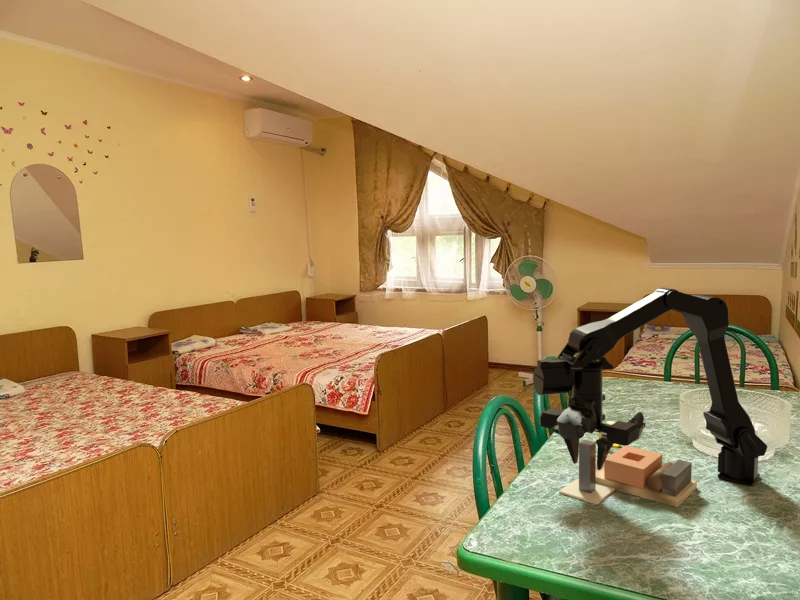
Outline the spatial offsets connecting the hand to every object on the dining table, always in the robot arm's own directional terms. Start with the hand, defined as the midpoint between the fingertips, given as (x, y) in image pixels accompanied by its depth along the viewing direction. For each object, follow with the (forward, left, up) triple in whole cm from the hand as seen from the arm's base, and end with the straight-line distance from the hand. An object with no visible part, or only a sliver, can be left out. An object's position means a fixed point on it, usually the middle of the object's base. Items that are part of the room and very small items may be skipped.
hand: (587, 466), depth 118 cm
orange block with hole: (-6, -10, -4) cm, 12 cm away
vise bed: (-6, -10, -5) cm, 13 cm away
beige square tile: (0, 0, -5) cm, 5 cm away
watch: (+7, -27, -6) cm, 28 cm away
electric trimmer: (+8, -41, -6) cm, 42 cm away
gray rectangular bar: (0, 0, -5) cm, 5 cm away
